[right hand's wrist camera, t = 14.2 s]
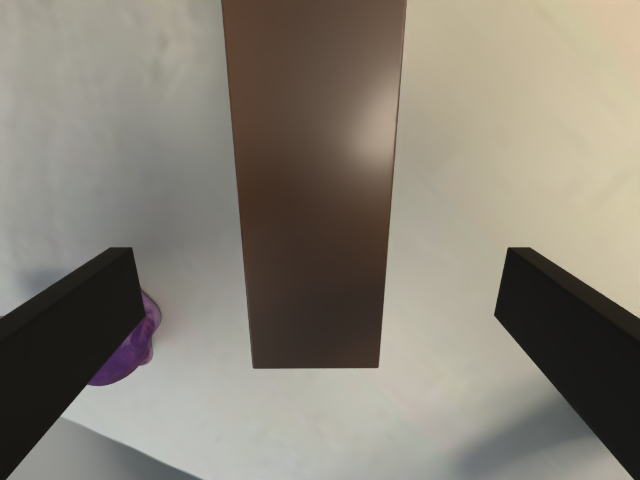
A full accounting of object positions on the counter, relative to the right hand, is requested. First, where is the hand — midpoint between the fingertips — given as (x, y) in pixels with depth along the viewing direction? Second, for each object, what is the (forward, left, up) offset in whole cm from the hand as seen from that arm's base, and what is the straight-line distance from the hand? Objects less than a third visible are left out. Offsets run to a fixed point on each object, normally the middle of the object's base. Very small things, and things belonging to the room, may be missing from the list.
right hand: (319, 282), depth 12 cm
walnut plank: (0, -10, -8) cm, 13 cm away
